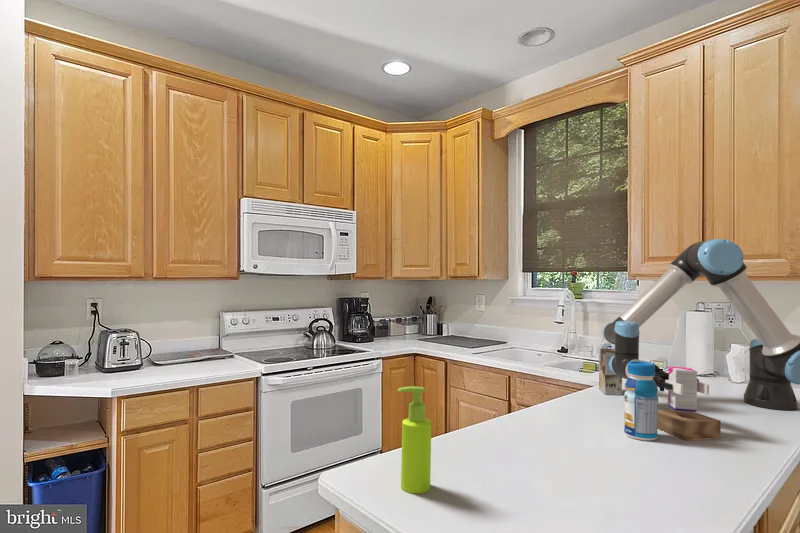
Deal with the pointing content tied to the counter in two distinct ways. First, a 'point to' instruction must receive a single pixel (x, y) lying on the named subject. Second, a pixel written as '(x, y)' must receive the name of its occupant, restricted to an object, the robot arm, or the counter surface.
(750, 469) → the counter surface
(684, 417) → the oak riser block
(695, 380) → the supplement box
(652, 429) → the beverage bottle
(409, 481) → the soap dispenser
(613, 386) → the coffee box
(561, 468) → the counter surface
